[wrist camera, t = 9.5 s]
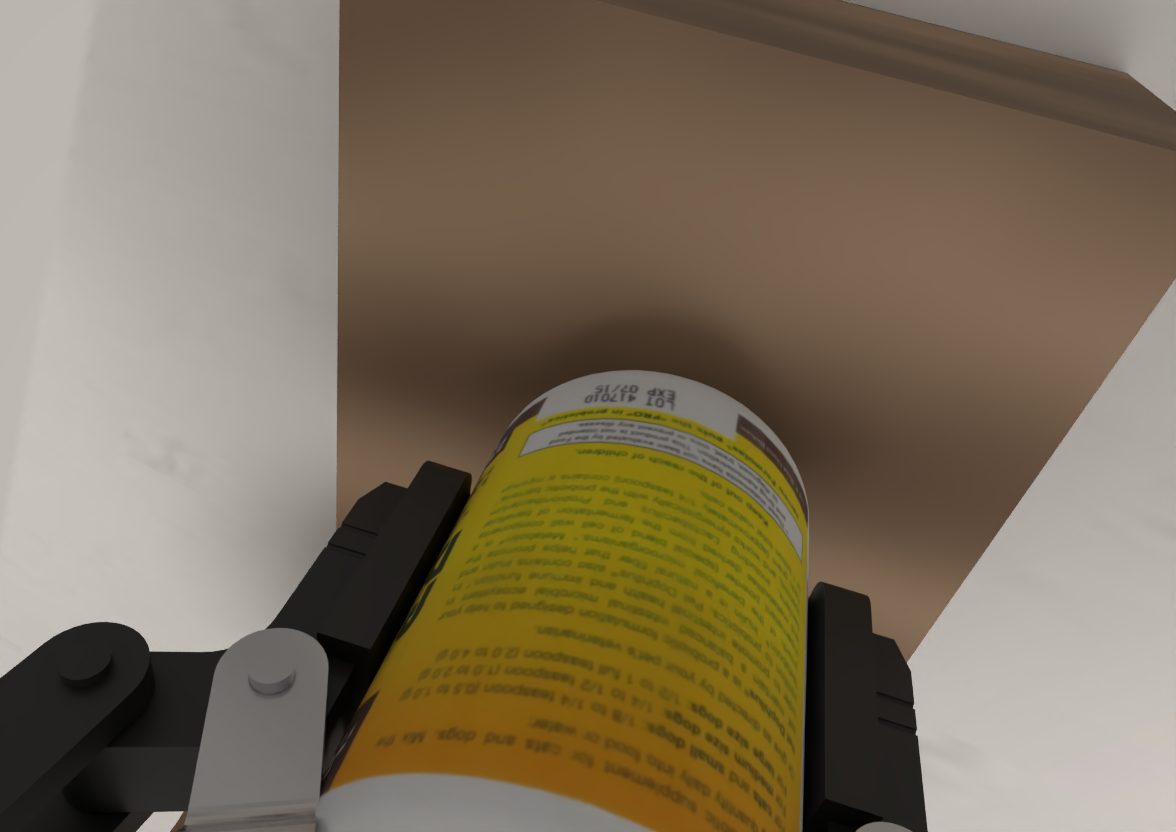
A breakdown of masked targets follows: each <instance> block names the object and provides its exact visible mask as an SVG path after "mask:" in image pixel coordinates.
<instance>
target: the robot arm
mask: <svg viewBox="0 0 1176 832" xmlns="http://www.w3.org/2000/svg"><path fill="white" fill-rule="evenodd" d="M471 484H472V475H471V473H468V472H465V471H461V470H458V469H455V468H451V467H448V466H445V465H442V464H438V463H435V462H432V461H426V462H425V463H424V464H423V465H422V466H421V468H420V469H419V471H418V473H417V474H416V476H415V477H414V479H413V480H412V482H411V484H410V485H409V487H408V488H405V487H401V486H398V485H395V484H392V483H388V482H384V483H383V484H381V485H379V486H378V487H376V488H375V489H373V490H372V491H370V492H368V493H367V494H365V495H364V496H362V497H361V498H359V499H358V500H357V502H356V503H355V505H354V506H353V507H352V509H351V510H350V512H349V513H348V515H347V516H346V518H345V519H344V520H343V522H342V525H341V527H340V528H338V529H337V530H336V532H335V533H334V535H333V536H332V538H331V539H330V541H329V542H328V546H327V547H326V548H324V549H323V551H322V552H321V554H320V555H319V556H318V558H317V559H316V561H315V562H314V564H313V565H312V566H311V568H310V569H309V571H308V572H307V574H306V575H305V577H304V578H303V579H302V581H301V582H300V584H299V585H298V587H297V588H296V589H295V591H294V592H293V594H292V595H291V597H290V598H289V600H288V601H287V602H286V604H285V605H284V607H283V608H282V610H281V611H280V612H279V614H278V615H277V617H276V618H275V619H274V621H273V622H272V623H271V624H270V625H269V626H268V627H267V628H266V629H265V630H261V631H257V632H255V633H252V634H249V635H247V636H246V637H244V638H242V639H240V640H239V641H237V642H236V643H235V644H233V645H232V646H231V647H230V648H229V649H225V650H220V651H214V652H149V647H148V644H147V643H146V641H145V639H144V638H143V637H142V636H141V635H140V633H138V632H137V631H135V630H134V629H132V628H130V627H128V626H125V625H122V624H118V623H110V622H96V623H89V624H84V625H80V626H77V627H73V628H71V629H69V630H66V631H64V632H62V633H60V634H58V635H56V636H54V637H53V638H51V639H50V640H48V641H47V642H46V643H44V644H43V645H42V646H40V647H39V648H38V649H37V650H35V651H34V652H33V653H32V654H30V655H29V656H28V657H27V658H25V659H24V660H23V661H22V662H20V663H19V664H18V665H16V666H15V667H14V668H13V669H11V670H10V671H9V672H8V673H6V674H5V675H4V676H3V677H1V678H0V832H136V831H137V830H138V829H139V828H140V826H141V825H142V824H143V823H144V822H145V821H146V820H147V819H148V818H149V817H150V815H151V814H152V813H153V812H166V811H188V812H187V816H186V820H185V823H184V825H183V827H182V828H181V829H178V830H177V832H316V827H317V817H316V816H315V811H316V807H317V805H318V802H319V799H320V790H321V782H322V777H323V773H324V772H325V770H326V768H327V766H328V764H329V762H330V760H331V758H332V757H333V755H334V753H335V751H336V749H337V747H338V745H339V743H340V741H341V739H342V737H343V735H344V733H345V731H346V729H347V727H348V725H349V723H350V722H351V720H352V718H353V717H354V715H355V713H356V711H357V709H358V708H359V706H360V704H361V702H362V700H363V698H364V696H365V695H366V693H367V691H368V689H369V687H370V685H371V683H372V682H373V680H374V678H375V676H376V674H377V672H378V670H379V668H380V666H381V664H382V662H383V660H384V659H385V657H386V655H387V653H388V651H389V649H390V647H391V645H392V643H393V641H394V639H395V637H396V635H397V633H398V632H399V630H400V628H401V626H402V624H403V623H404V621H405V619H406V617H407V614H408V612H409V611H410V609H411V607H412V605H413V603H414V601H415V599H416V598H417V596H418V594H419V592H420V590H421V588H422V586H423V584H424V582H425V580H426V578H427V576H428V574H429V572H430V570H431V568H432V567H433V565H434V563H435V561H436V559H437V557H438V556H439V554H440V552H441V550H442V548H443V546H444V544H445V543H446V541H447V539H448V537H449V535H450V533H451V531H452V529H453V527H454V525H455V524H456V522H457V520H458V518H459V516H460V514H461V512H462V510H463V509H464V507H465V505H466V503H467V501H468V499H469V497H470V491H471ZM913 705H914V697H913V687H912V678H911V671H910V669H909V667H908V665H907V663H906V661H905V659H904V657H903V655H902V653H901V651H900V649H899V648H898V646H897V644H896V642H895V640H894V639H891V638H888V637H885V636H881V635H878V634H875V633H873V630H872V613H871V602H870V599H869V597H868V596H867V595H864V594H861V593H858V592H855V591H851V590H848V589H845V588H841V587H838V586H835V585H832V584H828V583H825V582H822V581H820V582H818V583H817V584H816V586H815V587H814V589H813V591H812V593H811V594H810V596H809V598H808V627H807V676H806V713H805V753H804V794H803V829H802V832H928V831H927V821H926V812H925V802H924V792H923V783H922V773H921V764H920V754H919V745H918V736H916V730H917V726H916V716H915V709H913Z"/></svg>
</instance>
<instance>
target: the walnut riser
mask: <svg viewBox="0 0 1176 832" xmlns="http://www.w3.org/2000/svg"><path fill="white" fill-rule="evenodd" d="M1175 278H1176V111H1174V110H1173V109H1172V108H1170V107H1169V106H1168V105H1167V104H1165V103H1164V102H1163V101H1162V100H1160V99H1159V98H1158V97H1157V96H1155V95H1154V94H1153V93H1151V92H1150V91H1149V90H1148V89H1146V88H1145V87H1144V86H1143V85H1141V84H1140V83H1139V82H1138V81H1136V80H1135V79H1134V78H1132V77H1131V76H1130V75H1129V74H1126V73H1123V72H1119V71H1115V70H1111V69H1107V68H1103V67H1099V66H1095V65H1091V64H1087V63H1083V62H1079V61H1075V60H1071V59H1068V58H1064V57H1060V56H1056V55H1052V54H1048V53H1044V52H1040V51H1036V50H1032V49H1028V48H1024V47H1020V46H1016V45H1013V44H1009V43H1005V42H1001V41H997V40H993V39H989V38H985V37H981V36H977V35H973V34H969V33H965V32H961V31H958V30H954V29H950V28H946V27H942V26H938V25H934V24H930V23H926V22H922V21H918V20H914V19H910V18H906V17H903V16H899V15H895V14H891V13H887V12H883V11H879V10H875V9H871V8H867V7H863V6H859V5H855V4H851V3H848V2H844V1H840V0H340V39H339V205H338V370H337V529H338V528H340V527H341V525H342V522H343V520H344V519H345V518H346V516H347V515H348V513H349V512H350V510H351V509H352V507H353V506H354V505H355V503H356V502H357V500H358V499H359V498H361V497H362V496H364V495H365V494H367V493H368V492H370V491H372V490H373V489H375V488H376V487H378V486H379V485H381V484H383V483H384V482H388V483H392V484H395V485H398V486H401V487H405V488H408V487H409V485H410V484H411V482H412V480H413V479H414V477H415V476H416V474H417V473H418V471H419V469H420V468H421V466H422V465H423V464H424V463H425V462H426V461H432V462H435V463H438V464H442V465H445V466H448V467H451V468H455V469H458V470H461V471H465V472H468V473H471V475H472V484H471V491H470V495H471V493H472V491H473V489H474V487H475V486H476V484H477V482H478V480H479V478H480V476H481V474H482V472H483V470H484V469H485V467H486V465H487V463H488V462H489V460H490V458H491V456H492V454H493V452H494V450H495V449H496V447H497V446H498V444H499V442H500V440H501V438H502V437H503V435H504V433H505V432H506V430H507V429H508V427H509V426H510V424H511V423H512V422H513V420H514V419H515V418H516V417H517V416H518V415H519V414H520V413H521V412H522V411H523V410H524V409H525V408H526V407H527V406H528V405H529V404H530V403H532V402H533V401H534V400H535V399H537V398H538V397H540V396H541V395H542V394H544V393H546V392H548V391H549V390H551V389H553V388H555V387H557V386H559V385H561V384H563V383H566V382H569V381H571V380H574V379H577V378H580V377H584V376H587V375H591V374H597V373H603V372H609V371H622V370H642V371H653V372H660V373H667V374H672V375H676V376H680V377H683V378H687V379H690V380H694V381H697V382H699V383H702V384H705V385H707V386H710V387H712V388H715V389H717V390H718V391H720V392H722V393H724V394H726V395H728V396H730V397H731V398H733V399H735V400H736V401H738V402H739V403H741V404H743V405H744V406H745V407H747V408H748V409H749V410H750V411H752V412H753V413H754V414H755V415H757V416H758V417H759V418H760V419H761V420H762V421H763V422H764V423H765V424H766V425H767V426H768V427H769V428H770V429H771V430H772V431H773V432H774V433H775V435H776V436H777V437H778V438H779V440H780V441H781V442H782V443H783V445H784V446H785V447H786V449H787V451H788V452H789V454H790V456H791V458H792V459H793V461H794V463H795V465H796V467H797V469H798V471H799V474H800V476H801V479H802V482H803V485H804V488H805V492H806V496H807V502H808V509H809V573H808V598H809V596H810V594H811V593H812V591H813V589H814V587H815V586H816V584H817V583H818V582H820V581H822V582H825V583H828V584H832V585H835V586H838V587H841V588H845V589H848V590H851V591H855V592H858V593H861V594H864V595H867V596H868V597H869V599H870V602H871V613H872V630H873V633H875V634H878V635H881V636H885V637H888V638H891V639H894V640H895V642H896V644H897V646H898V648H899V649H900V651H901V653H902V655H903V657H904V659H905V661H906V663H907V661H908V660H909V659H910V657H911V656H912V654H913V653H914V651H915V650H916V649H917V647H918V646H919V644H920V643H921V641H922V640H923V639H924V637H925V636H926V634H927V633H928V631H929V630H930V629H931V627H932V626H933V624H934V623H935V621H936V620H937V619H938V617H939V616H940V614H941V613H942V611H943V610H944V609H945V607H946V606H947V604H948V603H949V601H950V600H951V599H952V597H953V596H954V594H955V593H956V591H957V590H958V589H959V587H960V586H961V584H962V583H963V581H964V580H965V579H966V577H967V576H968V574H969V573H970V571H971V570H972V568H973V567H974V566H975V564H976V563H977V561H978V560H979V558H980V557H981V556H982V554H983V553H984V551H985V550H986V548H987V547H988V546H989V544H990V543H991V541H992V540H993V538H994V537H995V536H996V534H997V533H998V531H999V530H1000V528H1001V527H1002V526H1003V524H1004V523H1005V521H1006V520H1007V518H1008V517H1009V516H1010V514H1011V513H1012V511H1013V510H1014V508H1015V507H1016V506H1017V504H1018V503H1019V501H1020V500H1021V498H1022V497H1023V496H1024V494H1025V493H1026V491H1027V490H1028V488H1029V487H1030V486H1031V484H1032V483H1033V481H1034V480H1035V478H1036V477H1037V476H1038V474H1039V473H1040V471H1041V470H1042V468H1043V467H1044V466H1045V464H1046V463H1047V461H1048V460H1049V458H1050V457H1051V456H1052V454H1053V453H1054V451H1055V450H1056V448H1057V447H1058V446H1059V444H1060V443H1061V441H1062V440H1063V438H1064V437H1065V436H1066V434H1067V433H1068V431H1069V430H1070V428H1071V427H1072V425H1073V424H1074V423H1075V421H1076V420H1077V418H1078V417H1079V415H1080V414H1081V413H1082V411H1083V410H1084V408H1085V407H1086V405H1087V404H1088V403H1089V401H1090V400H1091V398H1092V397H1093V395H1094V394H1095V393H1096V391H1097V390H1098V388H1099V387H1100V385H1101V384H1102V383H1103V381H1104V380H1105V378H1106V377H1107V375H1108V374H1109V373H1110V371H1111V370H1112V368H1113V367H1114V365H1115V364H1116V363H1117V361H1118V360H1119V358H1120V357H1121V355H1122V354H1123V353H1124V351H1125V350H1126V348H1127V347H1128V345H1129V344H1130V343H1131V341H1132V340H1133V338H1134V337H1135V335H1136V334H1137V333H1138V331H1139V330H1140V328H1141V327H1142V325H1143V324H1144V323H1145V321H1146V320H1147V318H1148V317H1149V315H1150V314H1151V313H1152V311H1153V310H1154V308H1155V307H1156V305H1157V304H1158V303H1159V301H1160V300H1161V298H1162V297H1163V295H1164V294H1165V293H1166V291H1167V290H1168V288H1169V287H1170V285H1171V284H1172V282H1173V281H1174V280H1175Z"/></svg>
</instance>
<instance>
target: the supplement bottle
mask: <svg viewBox="0 0 1176 832" xmlns="http://www.w3.org/2000/svg"><path fill="white" fill-rule="evenodd" d="M808 573H809V509H808V502H807V496H806V492H805V488H804V485H803V482H802V479H801V476H800V474H799V471H798V469H797V467H796V465H795V463H794V461H793V459H792V458H791V456H790V454H789V452H788V451H787V449H786V447H785V446H784V445H783V443H782V442H781V441H780V440H779V438H778V437H777V436H776V435H775V433H774V432H773V431H772V430H771V429H770V428H769V427H768V426H767V425H766V424H765V423H764V422H763V421H762V420H761V419H760V418H759V417H758V416H757V415H755V414H754V413H753V412H752V411H750V410H749V409H748V408H747V407H745V406H744V405H743V404H741V403H739V402H738V401H736V400H735V399H733V398H731V397H730V396H728V395H726V394H724V393H722V392H720V391H718V390H717V389H715V388H712V387H710V386H707V385H705V384H702V383H699V382H697V381H694V380H690V379H687V378H683V377H680V376H676V375H672V374H667V373H660V372H653V371H642V370H622V371H609V372H603V373H597V374H591V375H587V376H584V377H580V378H577V379H574V380H571V381H569V382H566V383H563V384H561V385H559V386H557V387H555V388H553V389H551V390H549V391H548V392H546V393H544V394H542V395H541V396H540V397H538V398H537V399H535V400H534V401H533V402H532V403H530V404H529V405H528V406H527V407H526V408H525V409H524V410H523V411H522V412H521V413H520V414H519V415H518V416H517V417H516V418H515V419H514V420H513V422H512V423H511V424H510V426H509V427H508V429H507V430H506V432H505V433H504V435H503V437H502V438H501V440H500V442H499V444H498V446H497V447H496V449H495V450H494V452H493V454H492V456H491V458H490V460H489V462H488V463H487V465H486V467H485V469H484V470H483V472H482V474H481V476H480V478H479V480H478V482H477V484H476V486H475V487H474V489H473V491H472V493H471V495H470V497H469V499H468V501H467V503H466V505H465V507H464V509H463V510H462V512H461V514H460V516H459V518H458V520H457V522H456V524H455V525H454V527H453V529H452V531H451V533H450V535H449V537H448V539H447V541H446V543H445V544H444V546H443V548H442V550H441V552H440V554H439V556H438V557H437V559H436V561H435V563H434V565H433V567H432V568H431V570H430V572H429V574H428V576H427V578H426V580H425V582H424V584H423V586H422V588H421V590H420V592H419V594H418V596H417V598H416V599H415V601H414V603H413V605H412V607H411V609H410V611H409V612H408V614H407V617H406V619H405V621H404V623H403V624H402V626H401V628H400V630H399V632H398V633H397V635H396V637H395V639H394V641H393V643H392V645H391V647H390V649H389V651H388V653H387V655H386V657H385V659H384V660H383V662H382V664H381V666H380V668H379V670H378V672H377V674H376V676H375V678H374V680H373V682H372V683H371V685H370V687H369V689H368V691H367V693H366V695H365V696H364V698H363V700H362V702H361V704H360V706H359V708H358V709H357V711H356V713H355V715H354V717H353V718H352V720H351V722H350V723H349V725H348V727H347V729H346V731H345V733H344V735H343V737H342V739H341V741H340V743H339V745H338V747H337V749H336V751H335V753H334V755H333V757H332V758H331V760H330V762H329V764H328V766H327V768H326V770H325V772H324V773H323V777H322V782H321V790H320V799H319V802H318V805H317V807H316V811H315V816H316V817H317V827H316V832H802V829H803V794H804V753H805V713H806V676H807V627H808Z"/></svg>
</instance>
